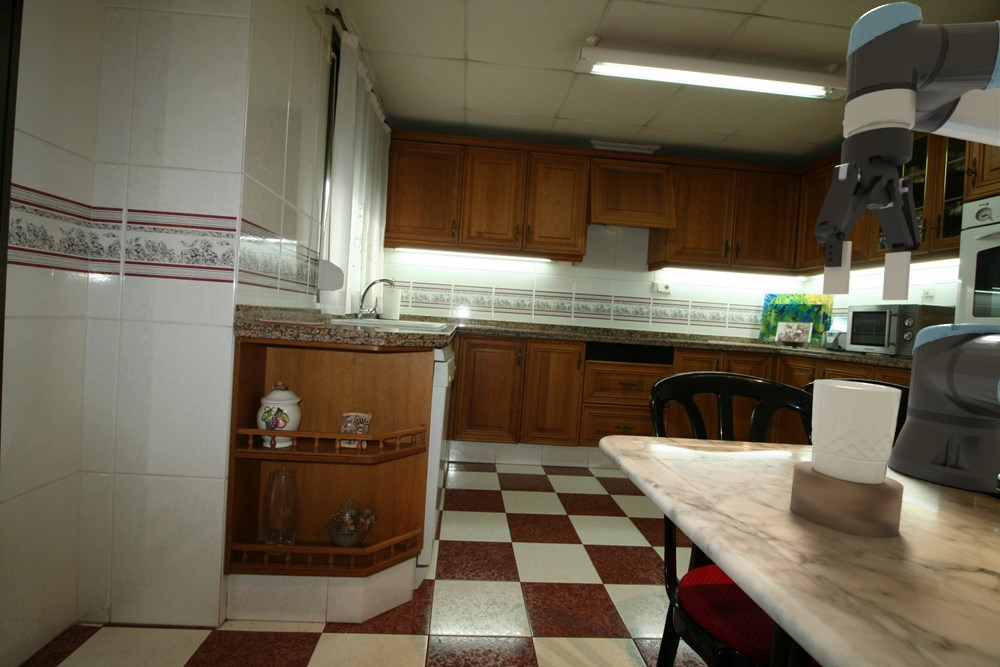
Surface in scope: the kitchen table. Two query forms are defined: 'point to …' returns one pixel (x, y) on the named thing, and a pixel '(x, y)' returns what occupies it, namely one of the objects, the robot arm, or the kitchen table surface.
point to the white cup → (853, 429)
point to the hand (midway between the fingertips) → (866, 297)
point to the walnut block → (847, 503)
